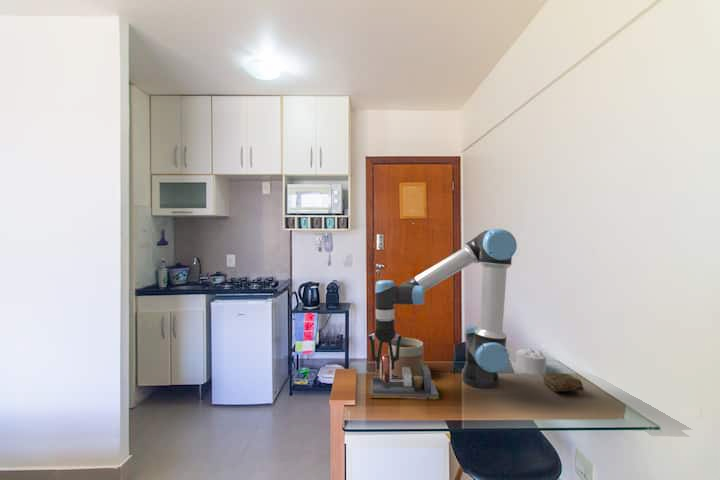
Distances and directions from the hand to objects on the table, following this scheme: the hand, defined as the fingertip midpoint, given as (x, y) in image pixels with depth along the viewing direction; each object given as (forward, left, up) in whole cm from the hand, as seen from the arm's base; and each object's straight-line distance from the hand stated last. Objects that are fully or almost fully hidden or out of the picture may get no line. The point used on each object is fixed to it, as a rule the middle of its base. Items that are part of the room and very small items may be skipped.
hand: (385, 377), depth 133 cm
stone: (-71, -4, -6) cm, 71 cm away
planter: (-10, -20, -6) cm, 23 cm away
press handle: (-4, 0, -3) cm, 5 cm away
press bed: (-7, 0, -6) cm, 9 cm away
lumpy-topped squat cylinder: (-69, -25, -6) cm, 74 cm away
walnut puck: (-13, 0, -4) cm, 13 cm away
